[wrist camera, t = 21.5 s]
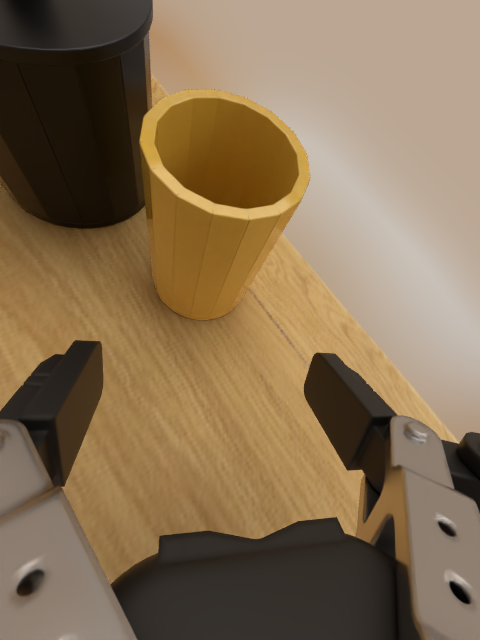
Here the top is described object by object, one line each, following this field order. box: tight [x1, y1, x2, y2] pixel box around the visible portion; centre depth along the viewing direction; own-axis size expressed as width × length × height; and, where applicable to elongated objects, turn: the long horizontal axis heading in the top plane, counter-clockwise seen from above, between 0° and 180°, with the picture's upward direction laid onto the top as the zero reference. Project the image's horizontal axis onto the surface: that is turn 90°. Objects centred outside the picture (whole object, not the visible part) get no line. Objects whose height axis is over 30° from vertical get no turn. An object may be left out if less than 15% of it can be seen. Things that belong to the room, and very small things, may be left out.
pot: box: [0, 31, 152, 228], centre depth 16 cm, size 10×10×10 cm
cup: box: [139, 89, 310, 320], centre depth 15 cm, size 6×6×10 cm
